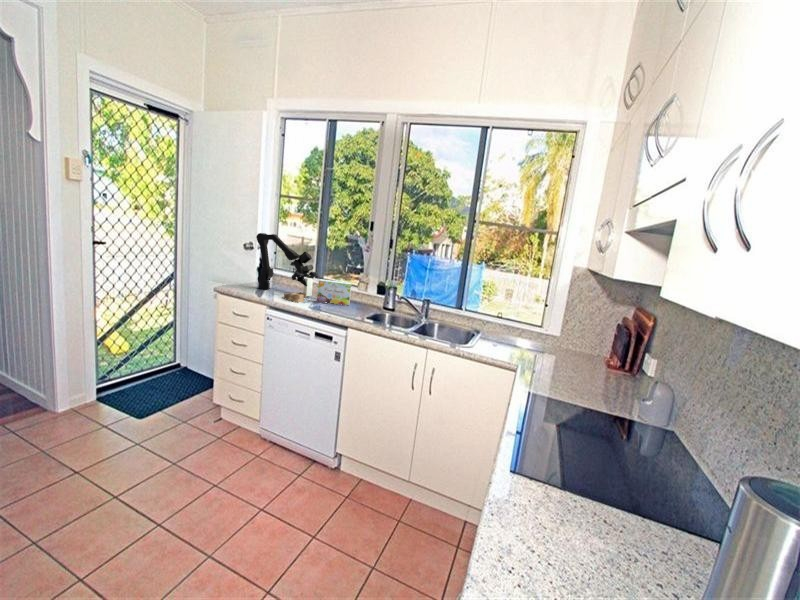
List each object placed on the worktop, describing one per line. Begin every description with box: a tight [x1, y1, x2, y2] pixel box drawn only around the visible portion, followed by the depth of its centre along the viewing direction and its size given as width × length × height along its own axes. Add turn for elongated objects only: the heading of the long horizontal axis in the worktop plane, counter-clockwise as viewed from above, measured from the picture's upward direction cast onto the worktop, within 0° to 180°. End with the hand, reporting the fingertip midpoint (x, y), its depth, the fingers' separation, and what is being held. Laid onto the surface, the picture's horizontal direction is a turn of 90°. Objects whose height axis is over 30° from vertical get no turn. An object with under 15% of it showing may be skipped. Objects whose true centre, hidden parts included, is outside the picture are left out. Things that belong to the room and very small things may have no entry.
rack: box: [283, 292, 307, 300], centre depth 253 cm, size 6×14×3 cm, turn 147°
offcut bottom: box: [289, 297, 305, 304], centre depth 244 cm, size 8×5×2 cm, turn 57°
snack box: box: [316, 278, 352, 306], centre depth 251 cm, size 21×6×15 cm, turn 92°
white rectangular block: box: [302, 277, 314, 297], centre depth 261 cm, size 3×5×12 cm, turn 147°
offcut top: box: [290, 292, 305, 300], centre depth 244 cm, size 7×4×2 cm, turn 68°
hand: (309, 285), depth 260 cm, fingers closed on white rectangular block, 5 cm apart
